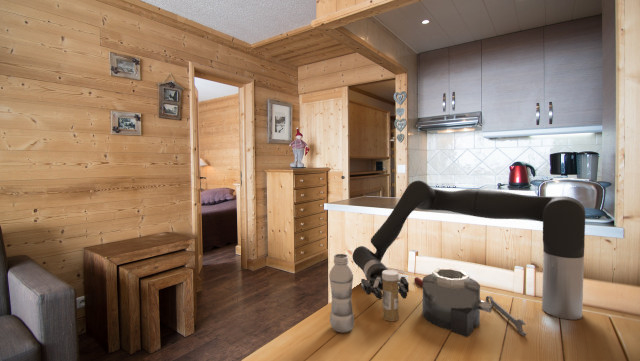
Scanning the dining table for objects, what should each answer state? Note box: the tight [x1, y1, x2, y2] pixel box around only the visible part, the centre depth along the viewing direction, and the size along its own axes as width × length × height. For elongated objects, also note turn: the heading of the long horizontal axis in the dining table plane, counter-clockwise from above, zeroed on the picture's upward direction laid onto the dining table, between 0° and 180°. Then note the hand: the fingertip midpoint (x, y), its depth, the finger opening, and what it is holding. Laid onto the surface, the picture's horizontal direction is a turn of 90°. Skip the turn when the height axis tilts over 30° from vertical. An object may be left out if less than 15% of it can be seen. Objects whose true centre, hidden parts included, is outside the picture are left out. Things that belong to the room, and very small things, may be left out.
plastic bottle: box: [328, 253, 355, 333], centre depth 85 cm, size 6×7×20 cm
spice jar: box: [382, 269, 400, 322], centre depth 91 cm, size 5×5×14 cm
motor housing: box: [422, 267, 493, 338], centre depth 89 cm, size 15×18×12 cm
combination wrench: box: [485, 295, 528, 336], centre depth 89 cm, size 4×1×20 cm
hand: (392, 295), depth 88 cm, fingers open, 6 cm apart
